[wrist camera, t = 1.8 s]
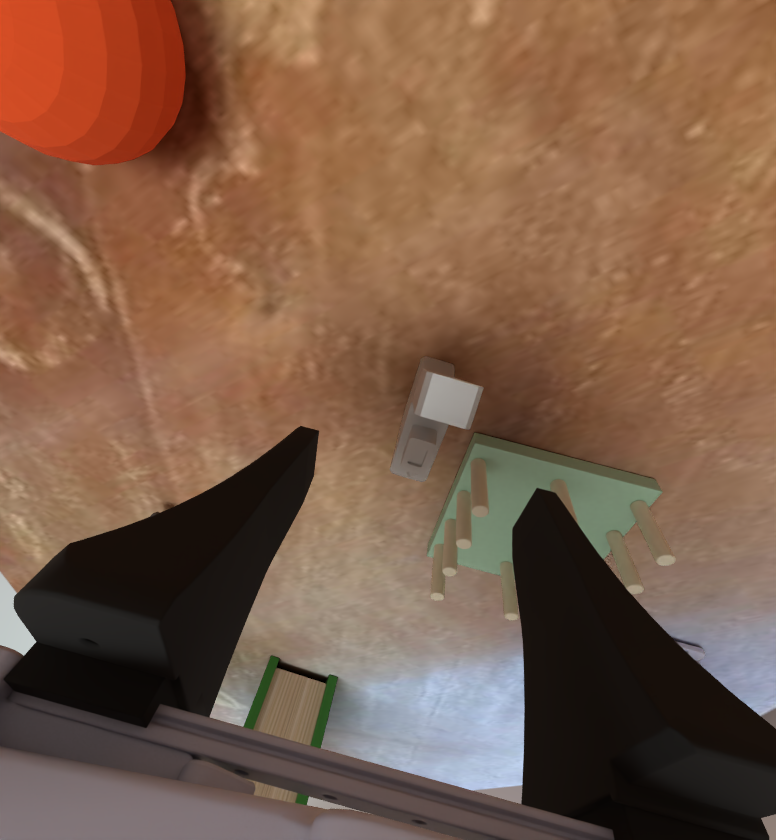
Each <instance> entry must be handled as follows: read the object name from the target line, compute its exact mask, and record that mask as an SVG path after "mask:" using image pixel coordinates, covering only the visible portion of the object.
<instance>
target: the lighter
mask: <svg viewBox="0 0 776 840" xmlns="http://www.w3.org/2000/svg"><path fill="white" fill-rule="evenodd" d="M454 375H455V367H454V366H453V364H451V363H447V362H444V361H441V360H437V359H434V358H430V357H427V356H425V357H423V358H421V360H420V363H419V366H418V370H417V373H416V376H415V379H414V382H413V386H412V389H411V392H410V395H409V398H408V401H407V405H406V408H405V411H404V414H403V417H402V421H401V425H400V430H399V434H398V438H397V442H396V446H395V450H394V455H393V459H392V463H391V467H390V471H391V472H392V474H396V475H399V476H402V477H406V478H409V479H413V480H416V481H420V482H423V481H426V479H427V477H428V474H429V472H430V470H431V467H432V465H433V462H434V460H435V457H436V455H437V452H438V450H439V447H440V445H441V442H442V440H443V438H444V435H445V433H446V430H447V428H448V425H452V426H456V427H459V428H463V429H467V430H470V428H471V425H472V422H473V419H474V416H475V413H476V410H477V407H478V404H479V401H480V397H481V394H482V391H483V388H484V387H481V386H478V385H475V384H473V383H470V382H467V381H464V380H461V379H458V378H454Z"/></svg>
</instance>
